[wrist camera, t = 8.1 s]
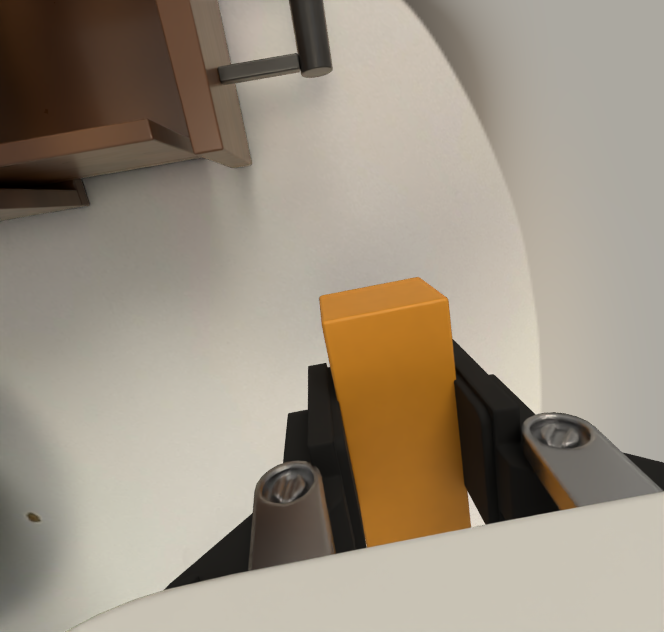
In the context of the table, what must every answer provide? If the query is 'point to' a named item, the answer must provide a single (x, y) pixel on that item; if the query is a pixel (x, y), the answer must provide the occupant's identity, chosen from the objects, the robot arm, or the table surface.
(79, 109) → the drawer
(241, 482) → the table surface
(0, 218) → the cabinet
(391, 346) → the block
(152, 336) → the table surface
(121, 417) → the table surface
